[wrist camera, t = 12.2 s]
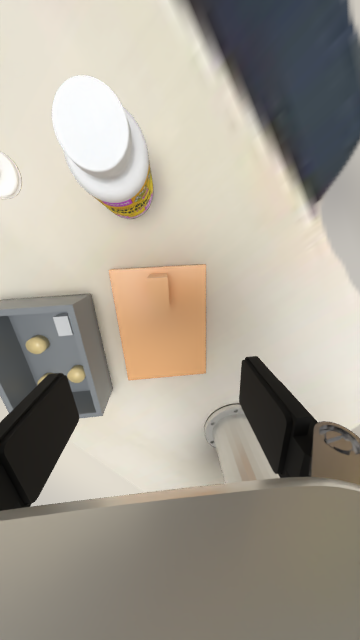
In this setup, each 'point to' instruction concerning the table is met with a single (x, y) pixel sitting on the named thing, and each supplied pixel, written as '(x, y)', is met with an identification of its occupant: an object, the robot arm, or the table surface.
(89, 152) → the supplement bottle
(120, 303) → the lid
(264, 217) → the table surface
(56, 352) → the tub
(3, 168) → the chess piece
